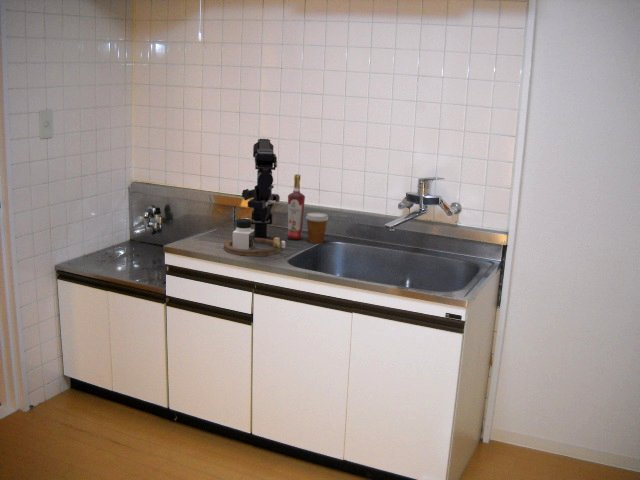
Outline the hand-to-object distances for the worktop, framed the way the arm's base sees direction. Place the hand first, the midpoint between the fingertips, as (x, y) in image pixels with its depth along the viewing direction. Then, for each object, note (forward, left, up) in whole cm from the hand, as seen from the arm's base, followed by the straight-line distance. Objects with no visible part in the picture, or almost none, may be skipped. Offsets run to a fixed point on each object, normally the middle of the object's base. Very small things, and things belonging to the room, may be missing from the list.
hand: (263, 222), depth 285 cm
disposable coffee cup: (-30, +13, -13) cm, 35 cm away
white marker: (-14, +3, -13) cm, 20 cm away
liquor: (-31, +3, -13) cm, 34 cm away
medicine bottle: (-7, -11, -13) cm, 19 cm away
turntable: (-7, -7, -13) cm, 16 cm away
